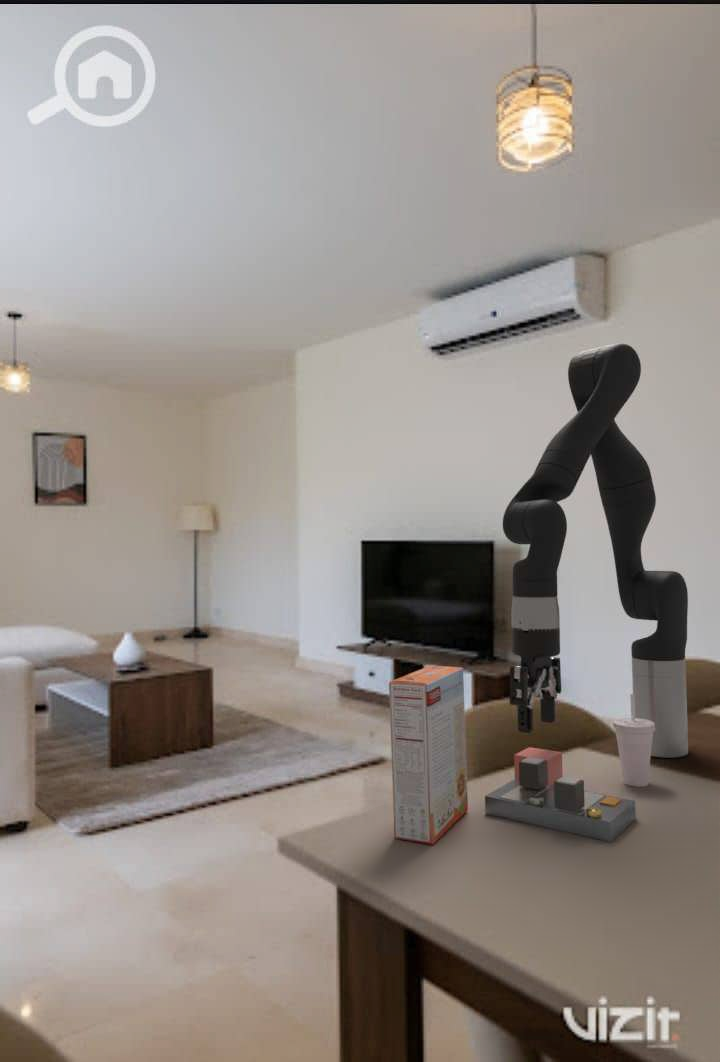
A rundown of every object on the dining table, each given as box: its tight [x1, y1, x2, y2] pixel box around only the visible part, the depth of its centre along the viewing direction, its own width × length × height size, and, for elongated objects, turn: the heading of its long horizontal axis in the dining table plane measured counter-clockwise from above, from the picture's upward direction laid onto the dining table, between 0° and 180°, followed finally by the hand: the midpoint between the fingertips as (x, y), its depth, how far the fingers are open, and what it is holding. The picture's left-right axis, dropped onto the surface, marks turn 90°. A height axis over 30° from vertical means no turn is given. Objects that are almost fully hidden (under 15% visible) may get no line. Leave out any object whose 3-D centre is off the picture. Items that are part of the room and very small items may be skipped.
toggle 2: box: [554, 775, 585, 813], centre depth 100 cm, size 3×3×4 cm
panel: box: [484, 778, 637, 843], centre depth 105 cm, size 10×18×3 cm, turn 52°
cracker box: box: [388, 665, 469, 845], centre depth 103 cm, size 14×6×21 cm, turn 152°
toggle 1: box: [519, 757, 547, 790], centre depth 110 cm, size 3×3×4 cm
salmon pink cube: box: [513, 746, 564, 785], centre depth 118 cm, size 6×6×5 cm
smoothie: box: [612, 693, 655, 788], centre depth 119 cm, size 6×6×14 cm
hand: (537, 727), depth 118 cm, fingers open, 8 cm apart
